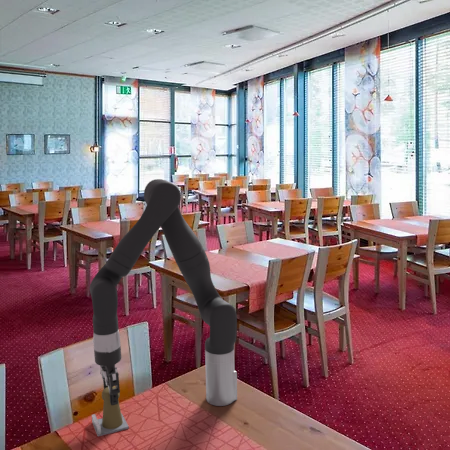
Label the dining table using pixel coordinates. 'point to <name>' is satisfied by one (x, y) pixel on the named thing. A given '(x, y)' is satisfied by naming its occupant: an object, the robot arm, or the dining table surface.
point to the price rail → (96, 425)
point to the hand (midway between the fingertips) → (111, 397)
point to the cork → (110, 411)
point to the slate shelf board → (107, 431)
